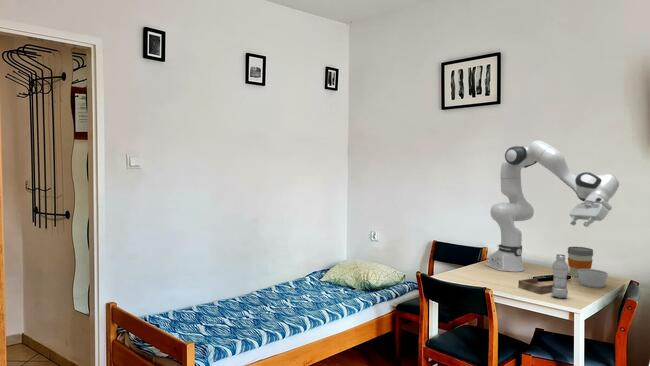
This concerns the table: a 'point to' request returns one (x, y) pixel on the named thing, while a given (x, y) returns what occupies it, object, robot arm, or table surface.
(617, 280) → the table surface
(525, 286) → the brown wooden tray
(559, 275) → the plastic bottle
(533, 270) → the table surface
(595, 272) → the ramekin
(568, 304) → the table surface
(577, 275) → the reusable coffee cup
